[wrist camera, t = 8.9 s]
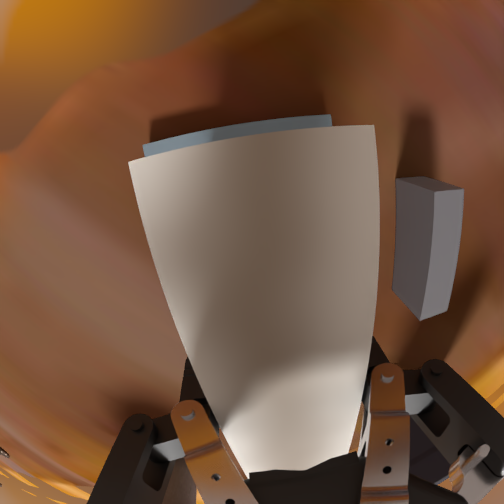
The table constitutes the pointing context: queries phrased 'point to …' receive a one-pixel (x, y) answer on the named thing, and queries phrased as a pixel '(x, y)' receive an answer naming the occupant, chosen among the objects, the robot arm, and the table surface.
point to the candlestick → (4, 453)
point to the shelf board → (271, 281)
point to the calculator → (426, 457)
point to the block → (426, 243)
